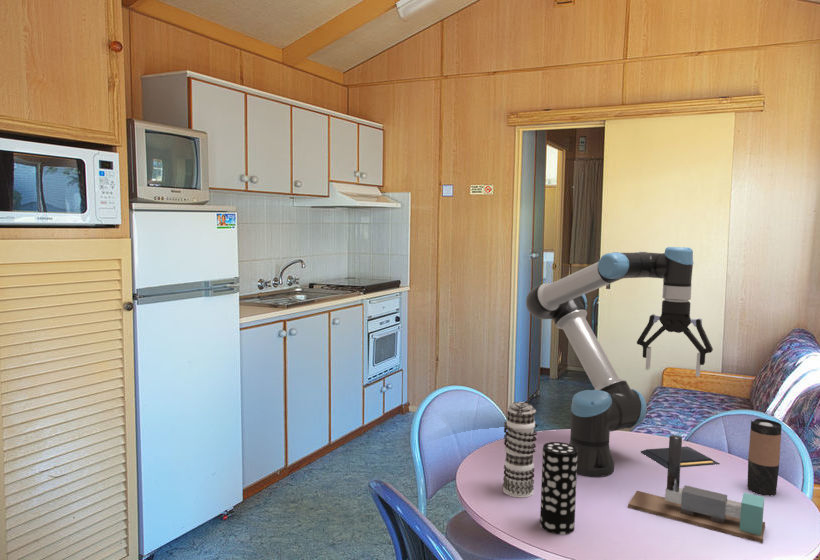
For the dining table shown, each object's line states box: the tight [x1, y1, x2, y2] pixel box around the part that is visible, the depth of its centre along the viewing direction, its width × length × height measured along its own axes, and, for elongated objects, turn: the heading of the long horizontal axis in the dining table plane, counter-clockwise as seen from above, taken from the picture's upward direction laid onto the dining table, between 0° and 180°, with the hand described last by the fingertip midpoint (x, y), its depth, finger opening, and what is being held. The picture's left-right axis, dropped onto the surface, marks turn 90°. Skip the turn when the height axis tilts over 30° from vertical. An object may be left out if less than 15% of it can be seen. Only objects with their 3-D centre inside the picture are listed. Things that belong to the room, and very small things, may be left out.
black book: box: [640, 446, 720, 470], centre depth 194 cm, size 20×2×15 cm
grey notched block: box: [681, 484, 728, 524], centre depth 152 cm, size 10×5×6 cm, turn 56°
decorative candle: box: [502, 401, 538, 499], centre depth 166 cm, size 9×9×25 cm
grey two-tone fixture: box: [664, 434, 742, 519], centre depth 151 cm, size 20×3×17 cm, turn 56°
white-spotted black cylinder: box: [539, 441, 578, 535], centre depth 146 cm, size 8×8×20 cm
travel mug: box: [747, 418, 783, 497], centre depth 169 cm, size 8×8×20 cm
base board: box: [627, 490, 766, 544], centre depth 153 cm, size 31×10×1 cm, turn 56°
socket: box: [740, 492, 765, 536], centre depth 146 cm, size 4×7×7 cm, turn 146°
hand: (672, 372), depth 173 cm, fingers open, 13 cm apart
